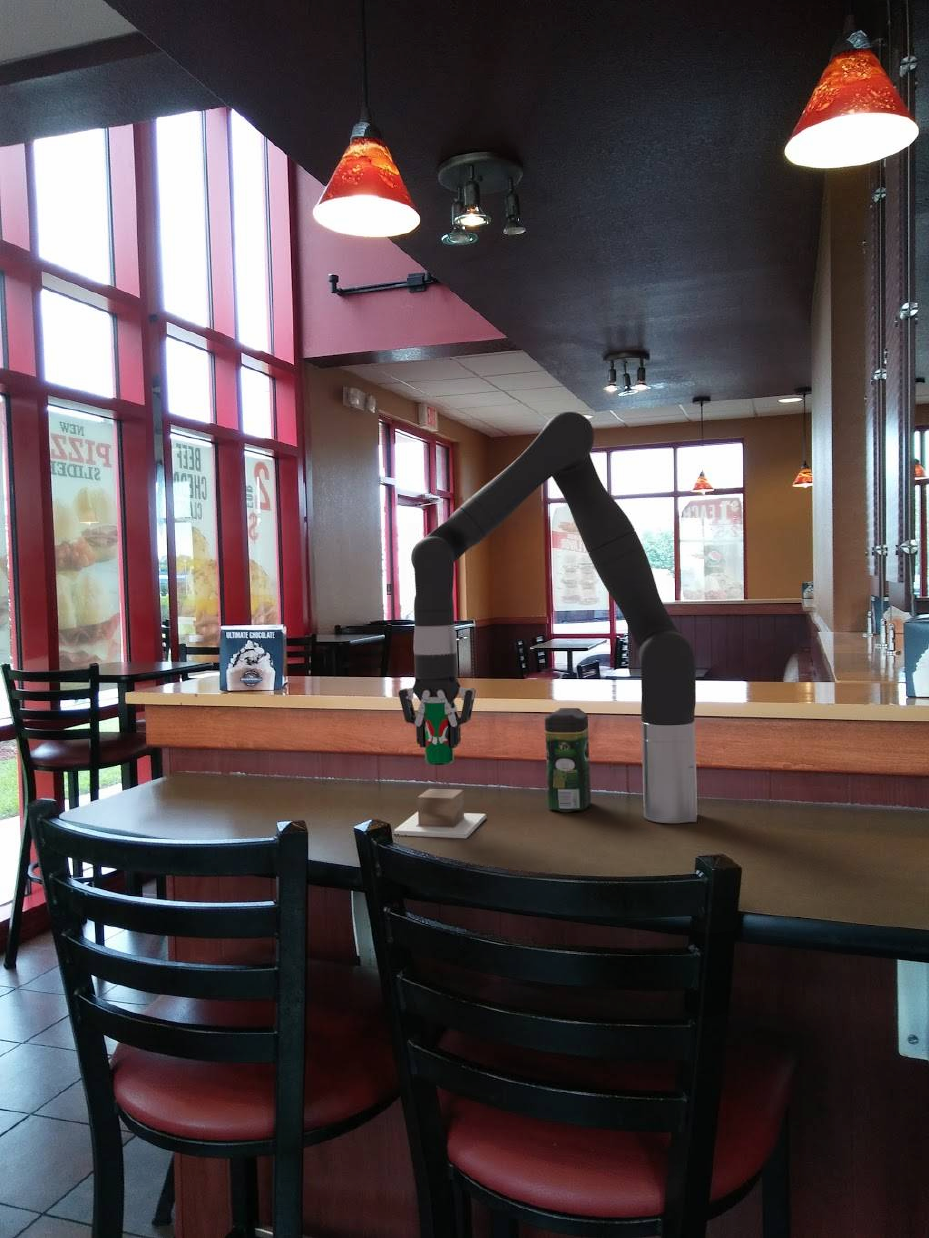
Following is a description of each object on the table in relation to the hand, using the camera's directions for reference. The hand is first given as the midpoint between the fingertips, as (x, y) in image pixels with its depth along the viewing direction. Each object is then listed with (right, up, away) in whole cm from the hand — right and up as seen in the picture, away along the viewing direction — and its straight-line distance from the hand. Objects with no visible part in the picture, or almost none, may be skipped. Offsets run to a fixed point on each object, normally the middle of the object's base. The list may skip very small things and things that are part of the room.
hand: (438, 746), depth 162 cm
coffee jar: (+24, -13, +11) cm, 30 cm away
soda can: (0, -3, 0) cm, 3 cm away
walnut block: (+1, -13, 0) cm, 13 cm away
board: (0, -14, +1) cm, 14 cm away
